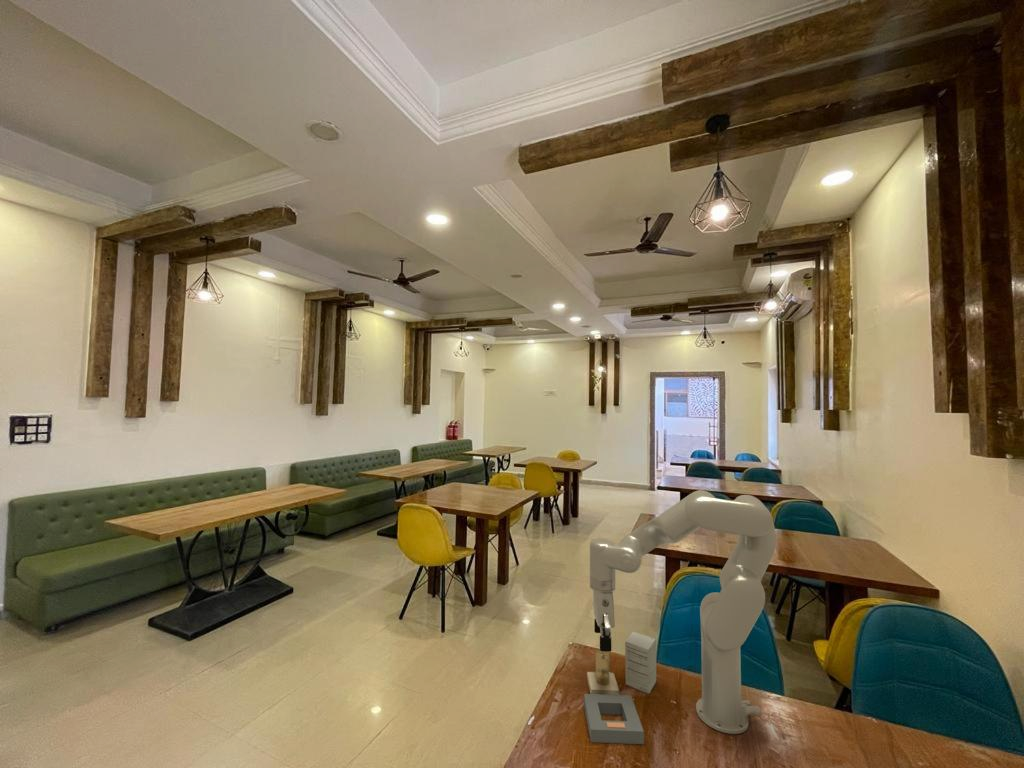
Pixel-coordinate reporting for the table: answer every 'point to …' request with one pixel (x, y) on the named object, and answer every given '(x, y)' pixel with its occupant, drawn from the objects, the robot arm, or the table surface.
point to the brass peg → (602, 667)
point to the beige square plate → (602, 689)
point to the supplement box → (640, 662)
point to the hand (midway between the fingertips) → (602, 641)
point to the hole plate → (613, 730)
